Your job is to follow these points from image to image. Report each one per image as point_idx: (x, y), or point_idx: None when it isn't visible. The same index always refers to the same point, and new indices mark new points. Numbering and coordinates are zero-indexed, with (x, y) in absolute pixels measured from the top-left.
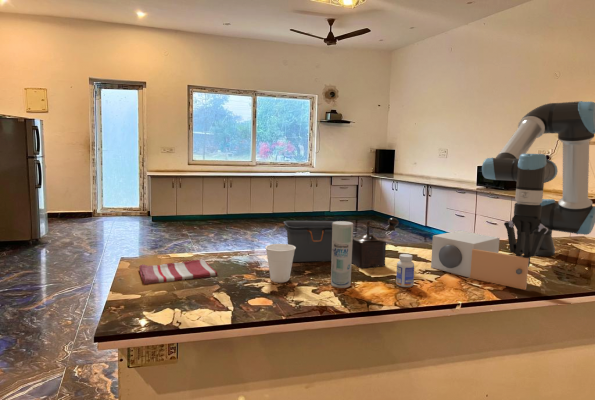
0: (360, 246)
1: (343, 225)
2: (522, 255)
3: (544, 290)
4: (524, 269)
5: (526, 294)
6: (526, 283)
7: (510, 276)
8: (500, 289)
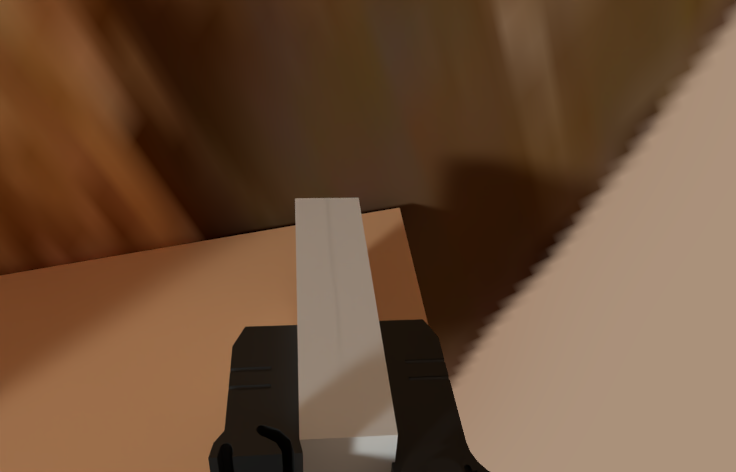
0: None
1: None
2: (312, 466)
3: (546, 39)
4: None
5: (443, 301)
6: (408, 250)
7: None
8: None
